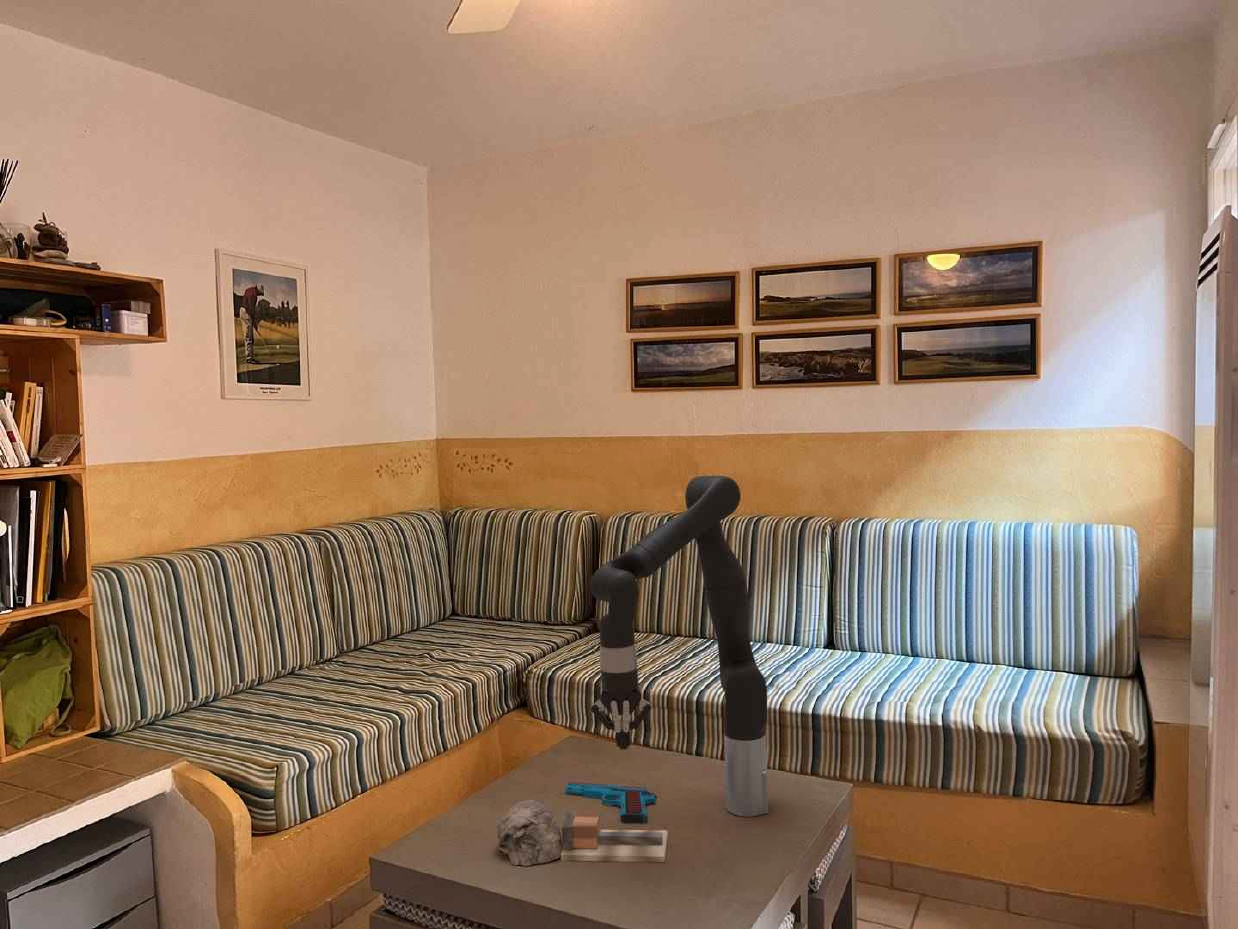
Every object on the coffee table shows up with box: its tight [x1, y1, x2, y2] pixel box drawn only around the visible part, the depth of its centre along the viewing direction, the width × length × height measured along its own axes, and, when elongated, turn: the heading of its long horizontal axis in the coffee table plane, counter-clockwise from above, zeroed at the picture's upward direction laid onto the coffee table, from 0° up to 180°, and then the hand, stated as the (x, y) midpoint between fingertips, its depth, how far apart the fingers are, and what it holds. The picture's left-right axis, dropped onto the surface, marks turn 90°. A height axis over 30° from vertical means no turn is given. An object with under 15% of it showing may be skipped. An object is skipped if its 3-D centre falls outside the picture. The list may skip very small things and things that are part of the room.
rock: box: [497, 799, 563, 867], centre depth 195 cm, size 15×12×10 cm
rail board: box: [560, 811, 669, 863], centre depth 195 cm, size 21×11×6 cm, turn 84°
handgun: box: [565, 781, 658, 824], centre depth 215 cm, size 23×3×15 cm
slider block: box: [572, 812, 602, 848], centre depth 196 cm, size 5×6×5 cm
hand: (623, 748), depth 193 cm, fingers closed
